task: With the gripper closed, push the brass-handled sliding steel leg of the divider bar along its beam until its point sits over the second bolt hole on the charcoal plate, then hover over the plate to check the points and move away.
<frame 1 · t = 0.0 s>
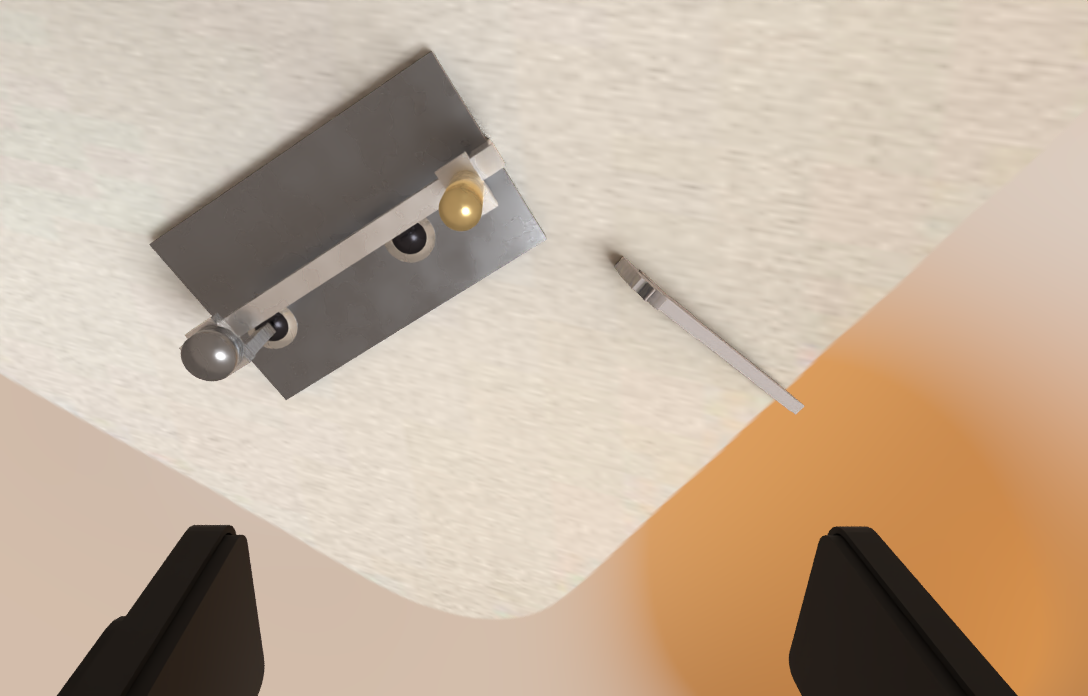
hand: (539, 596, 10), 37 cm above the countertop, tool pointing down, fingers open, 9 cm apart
hole plate: (355, 238, 45), on the countertop
divider frame: (361, 234, 45), resting on hole plate
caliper: (711, 336, 50), on the countertop
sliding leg: (466, 188, 36), point 9 cm above the countertop, slide at 0.0 cm
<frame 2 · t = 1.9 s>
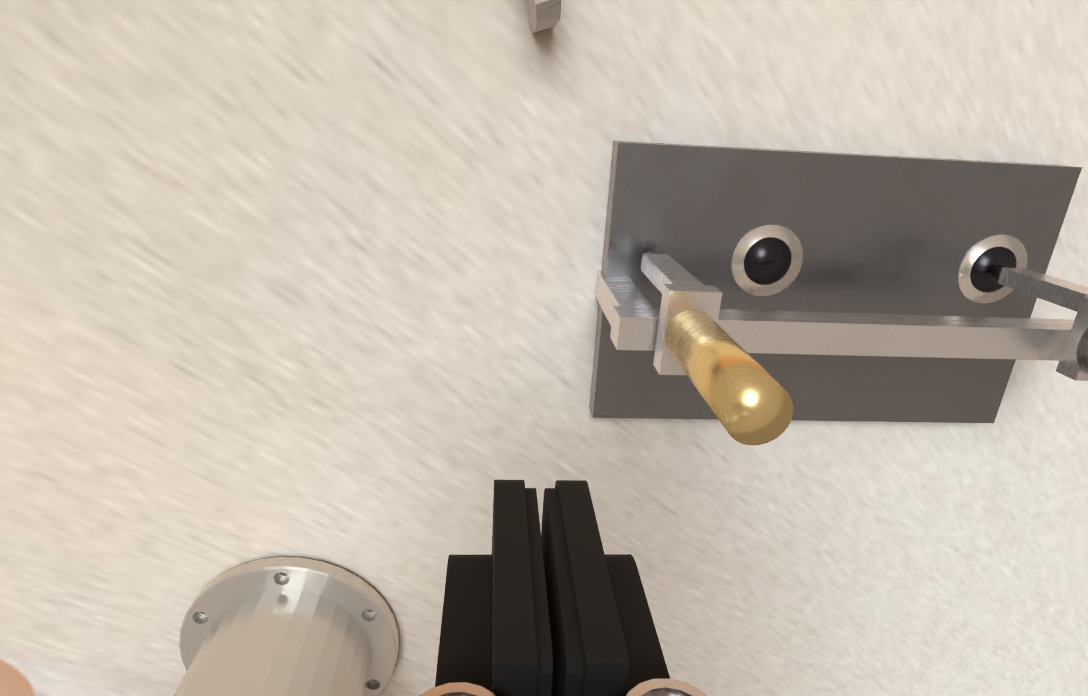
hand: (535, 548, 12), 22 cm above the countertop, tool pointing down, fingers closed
hole plate: (815, 291, 34), on the countertop
divider frame: (806, 291, 33), resting on hole plate
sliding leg: (688, 332, 25), point 9 cm above the countertop, slide at 0.0 cm
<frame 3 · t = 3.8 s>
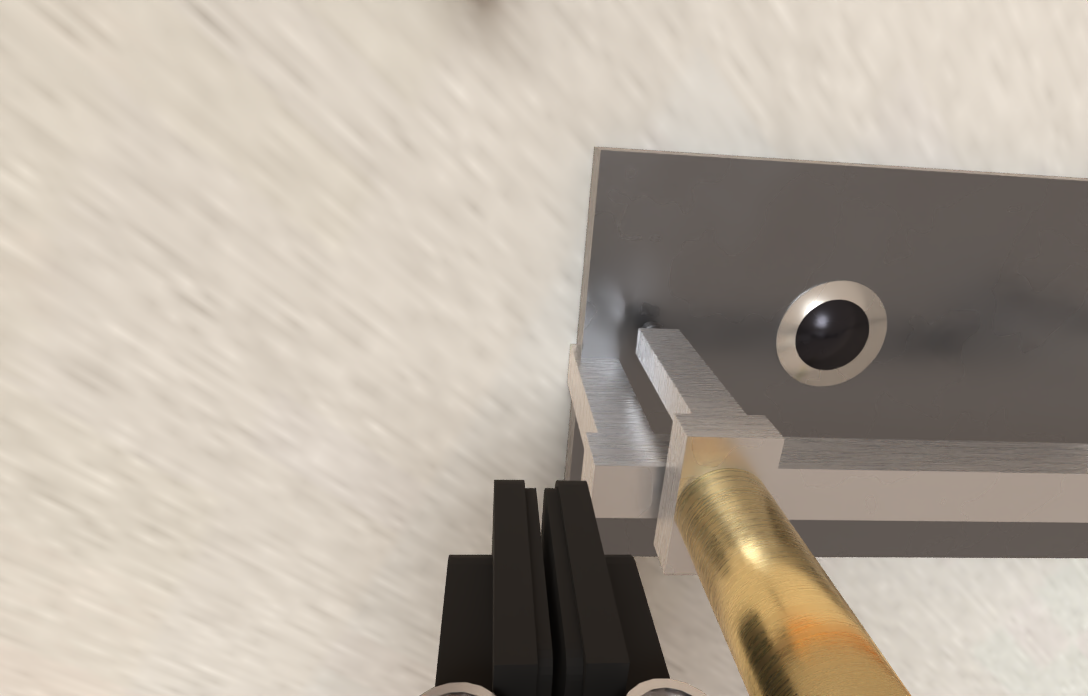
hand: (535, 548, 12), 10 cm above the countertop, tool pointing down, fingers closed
hole plate: (896, 374, 22), on the countertop
divider frame: (883, 373, 22), resting on hole plate
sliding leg: (718, 502, 13), point 9 cm above the countertop, slide at 0.0 cm, touching gripper
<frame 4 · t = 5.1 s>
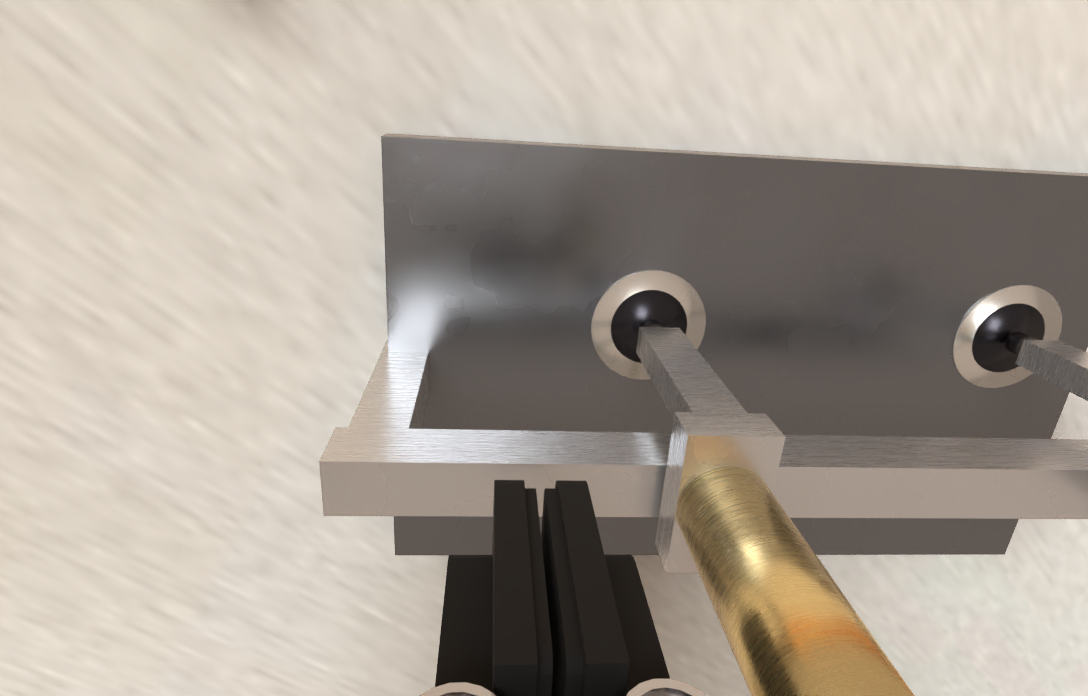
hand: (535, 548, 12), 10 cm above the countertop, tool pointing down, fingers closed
hole plate: (733, 366, 22), on the countertop
divider frame: (719, 366, 22), resting on hole plate
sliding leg: (719, 500, 13), point 9 cm above the countertop, slide at 6.0 cm, touching gripper
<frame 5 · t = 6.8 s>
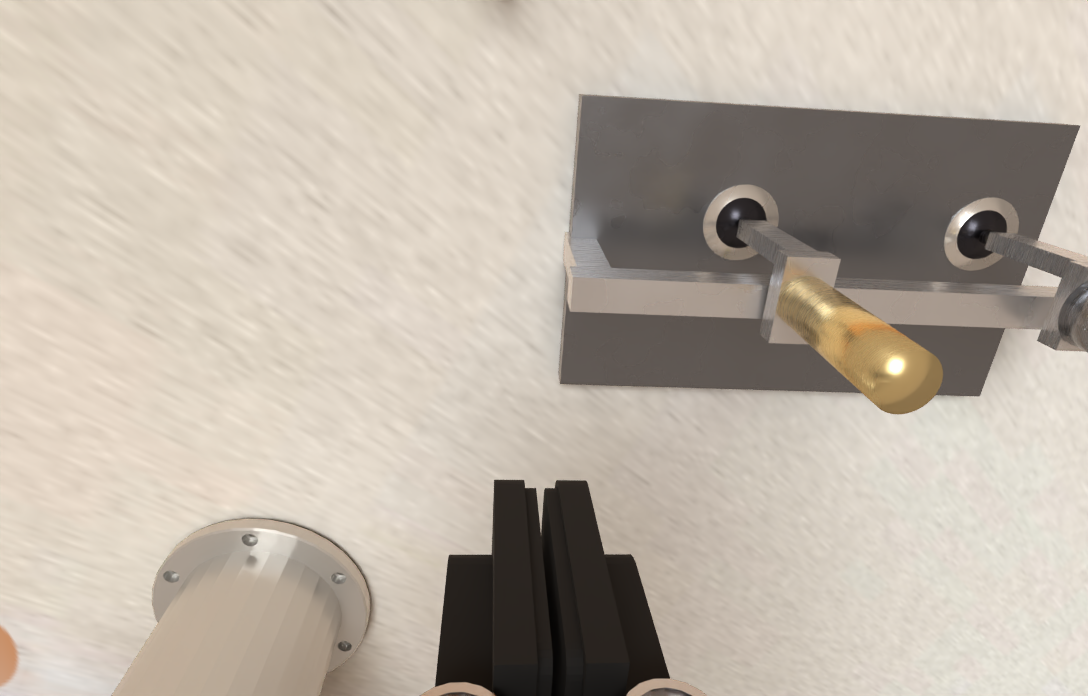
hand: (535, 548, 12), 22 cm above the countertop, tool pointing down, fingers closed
hole plate: (793, 256, 32), on the countertop
divider frame: (784, 255, 32), resting on hole plate
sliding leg: (801, 299, 24), point 9 cm above the countertop, slide at 6.1 cm
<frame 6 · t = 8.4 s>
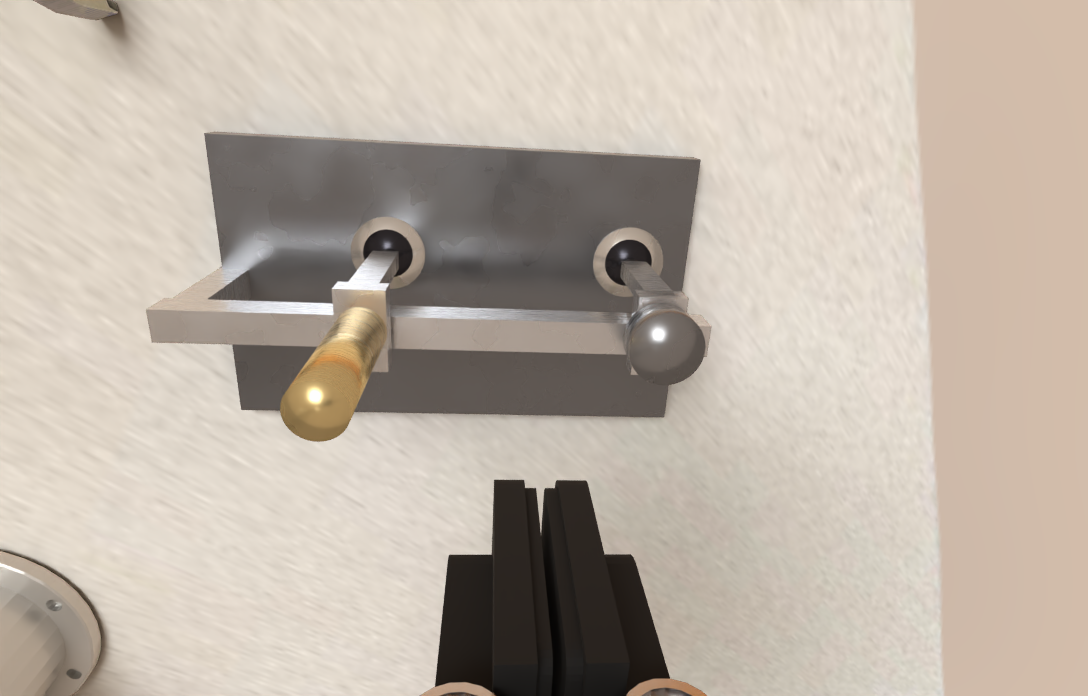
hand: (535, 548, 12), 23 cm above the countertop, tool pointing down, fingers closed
hole plate: (460, 284, 33), on the countertop
divider frame: (451, 284, 33), resting on hole plate
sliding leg: (362, 329, 25), point 9 cm above the countertop, slide at 6.1 cm
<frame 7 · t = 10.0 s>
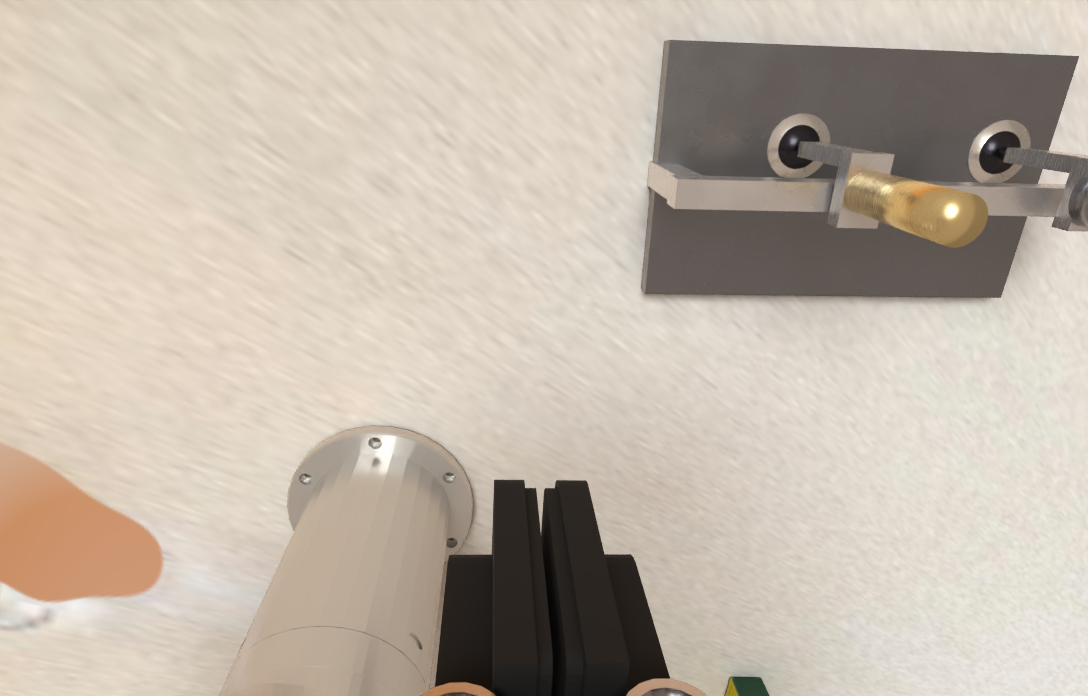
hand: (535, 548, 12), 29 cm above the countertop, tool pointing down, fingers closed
hole plate: (840, 178, 38), on the countertop
divider frame: (832, 177, 38), resting on hole plate
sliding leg: (862, 191, 30), point 9 cm above the countertop, slide at 6.1 cm
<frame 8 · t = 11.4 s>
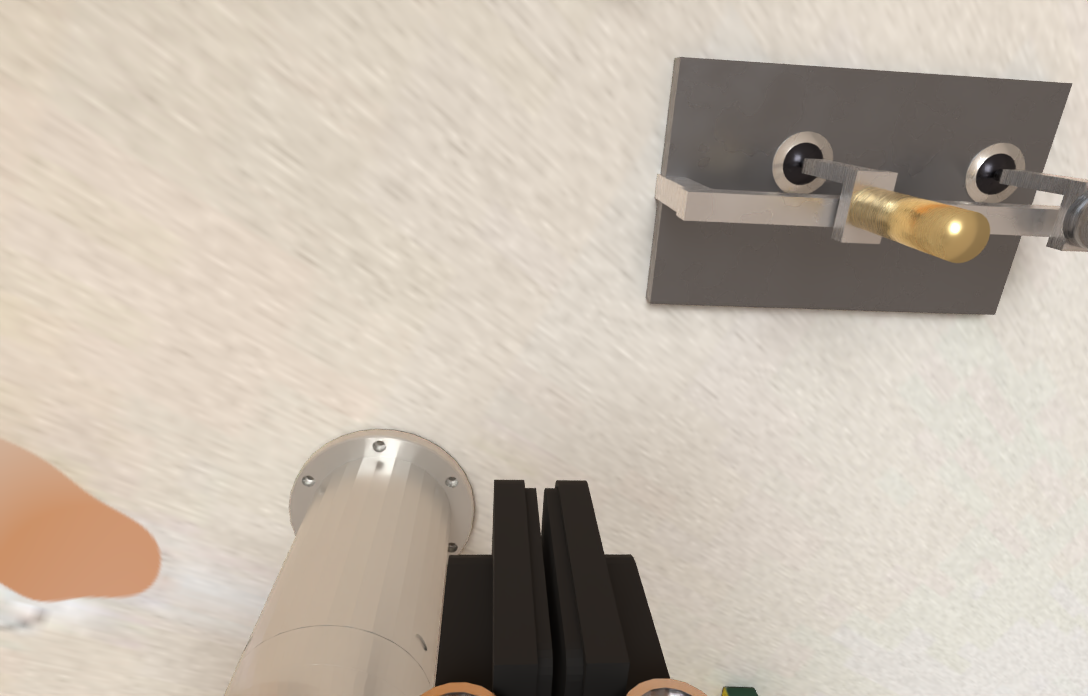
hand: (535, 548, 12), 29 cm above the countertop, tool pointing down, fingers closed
hole plate: (842, 195, 39), on the countertop
divider frame: (834, 194, 39), resting on hole plate
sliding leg: (866, 207, 31), point 9 cm above the countertop, slide at 6.1 cm
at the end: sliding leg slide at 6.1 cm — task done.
